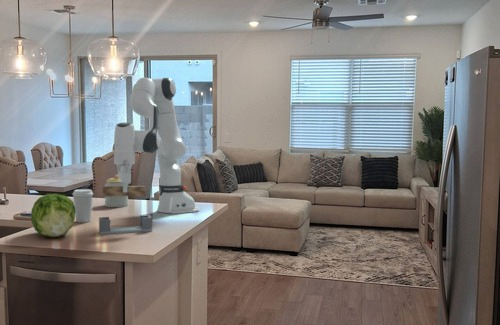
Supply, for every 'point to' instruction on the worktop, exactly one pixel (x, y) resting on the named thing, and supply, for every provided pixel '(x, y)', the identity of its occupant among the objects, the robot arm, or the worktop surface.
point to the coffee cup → (83, 204)
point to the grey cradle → (144, 226)
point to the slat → (119, 191)
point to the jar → (115, 200)
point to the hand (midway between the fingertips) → (124, 191)
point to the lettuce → (53, 215)
